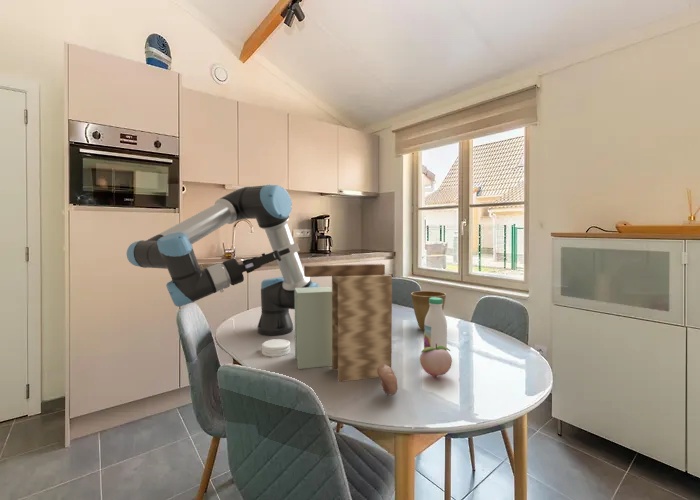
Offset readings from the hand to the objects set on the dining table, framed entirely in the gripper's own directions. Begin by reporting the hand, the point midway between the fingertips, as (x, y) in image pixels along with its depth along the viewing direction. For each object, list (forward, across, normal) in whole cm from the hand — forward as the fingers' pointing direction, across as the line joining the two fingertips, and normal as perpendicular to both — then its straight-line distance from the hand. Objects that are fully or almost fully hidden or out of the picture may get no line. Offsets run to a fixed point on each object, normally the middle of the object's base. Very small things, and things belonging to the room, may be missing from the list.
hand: (291, 248), depth 109 cm
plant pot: (+50, -17, -55) cm, 76 cm away
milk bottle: (+31, +9, -53) cm, 62 cm away
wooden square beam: (+8, +13, -13) cm, 20 cm away
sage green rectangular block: (-6, -4, -38) cm, 38 cm away
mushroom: (+1, +26, -45) cm, 52 cm away
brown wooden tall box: (+3, +10, -43) cm, 44 cm away
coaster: (-14, -19, -33) cm, 40 cm away
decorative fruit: (+19, +24, -51) cm, 59 cm away
